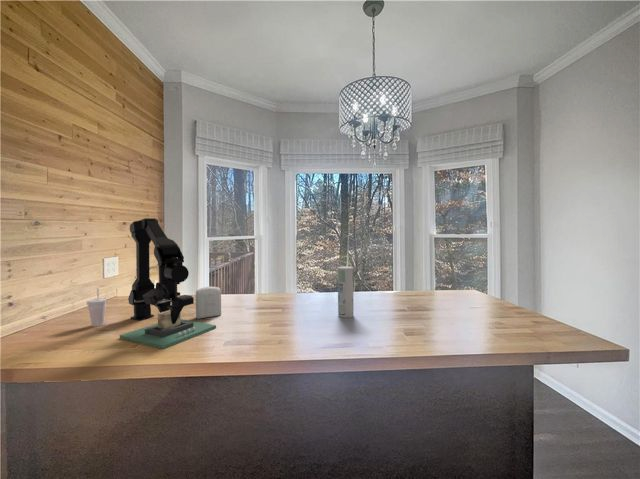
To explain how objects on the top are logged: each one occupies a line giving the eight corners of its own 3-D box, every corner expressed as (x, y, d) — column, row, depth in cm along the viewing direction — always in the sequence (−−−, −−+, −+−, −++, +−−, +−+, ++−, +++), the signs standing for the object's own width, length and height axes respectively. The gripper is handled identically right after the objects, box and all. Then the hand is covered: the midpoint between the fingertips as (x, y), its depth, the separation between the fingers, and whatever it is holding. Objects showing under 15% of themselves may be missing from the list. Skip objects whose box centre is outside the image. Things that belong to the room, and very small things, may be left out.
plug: (158, 327, 112) (157, 313, 112) (174, 322, 118) (174, 308, 118) (165, 329, 110) (165, 314, 110) (182, 323, 116) (182, 310, 116)
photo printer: (219, 313, 139) (219, 284, 138) (222, 315, 135) (222, 286, 134) (194, 317, 133) (193, 287, 132) (197, 319, 129) (196, 289, 129)
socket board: (119, 338, 109) (119, 330, 109) (175, 320, 129) (175, 314, 128) (163, 349, 99) (162, 341, 99) (216, 328, 119) (216, 321, 118)
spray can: (356, 316, 131) (356, 267, 130) (342, 318, 129) (341, 268, 128) (349, 312, 137) (349, 265, 136) (335, 314, 135) (335, 266, 134)
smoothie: (111, 323, 125) (110, 288, 124) (94, 328, 119) (92, 291, 119) (101, 321, 128) (99, 286, 127) (83, 326, 122) (82, 289, 121)
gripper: (128, 280, 110) (130, 326, 111) (165, 285, 101) (167, 334, 102) (158, 276, 120) (159, 317, 121) (194, 279, 111) (195, 324, 112)
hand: (169, 323), depth 114 cm, fingers closed on plug, 4 cm apart
